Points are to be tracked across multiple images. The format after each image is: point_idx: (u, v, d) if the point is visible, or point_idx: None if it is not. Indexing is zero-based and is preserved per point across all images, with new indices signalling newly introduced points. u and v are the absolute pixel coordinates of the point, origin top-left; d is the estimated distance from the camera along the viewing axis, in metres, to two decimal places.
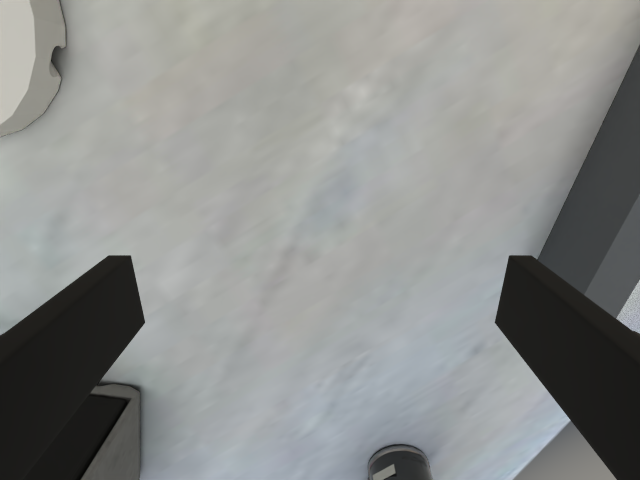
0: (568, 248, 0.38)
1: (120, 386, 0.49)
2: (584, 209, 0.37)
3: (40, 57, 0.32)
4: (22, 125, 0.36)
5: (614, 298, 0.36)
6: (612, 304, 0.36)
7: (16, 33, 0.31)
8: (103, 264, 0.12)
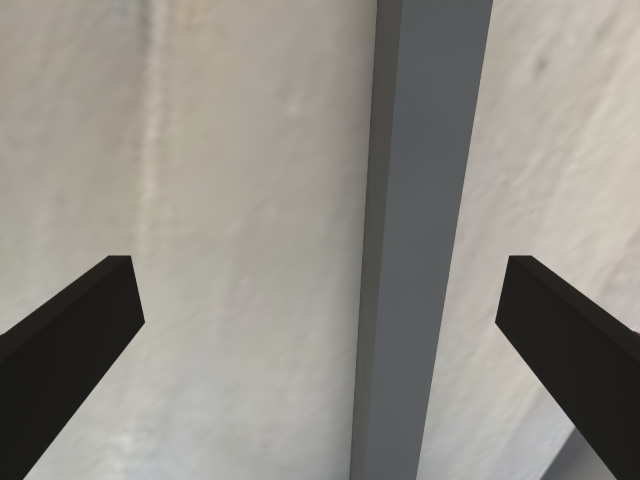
0: None
1: None
2: None
3: None
4: None
5: None
6: None
7: None
8: (103, 264, 0.12)
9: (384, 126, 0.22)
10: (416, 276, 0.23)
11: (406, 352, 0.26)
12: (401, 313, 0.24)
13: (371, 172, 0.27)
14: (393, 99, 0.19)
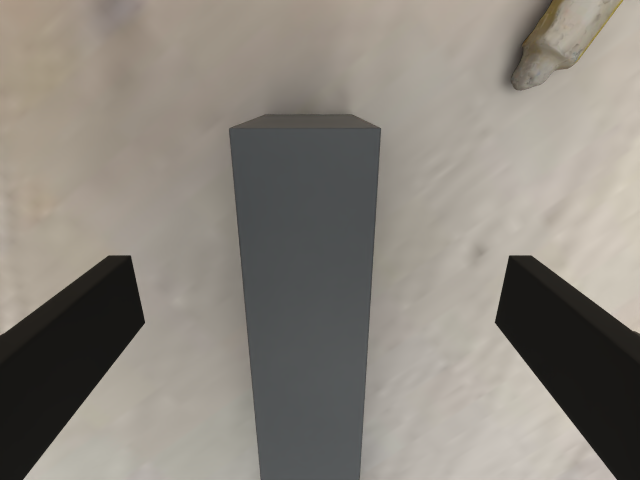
0: None
1: None
2: None
3: None
4: None
5: None
6: None
7: None
8: (103, 264, 0.12)
9: None
10: None
11: None
12: None
13: None
14: (253, 388, 0.14)
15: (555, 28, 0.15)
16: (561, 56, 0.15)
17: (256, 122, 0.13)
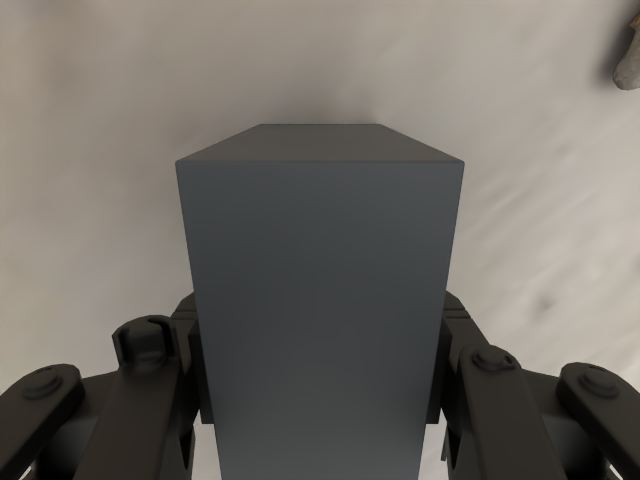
0: None
1: None
2: None
3: None
4: None
5: None
6: None
7: None
8: None
9: None
10: None
11: None
12: None
13: None
14: None
15: None
16: None
17: (237, 142, 0.08)
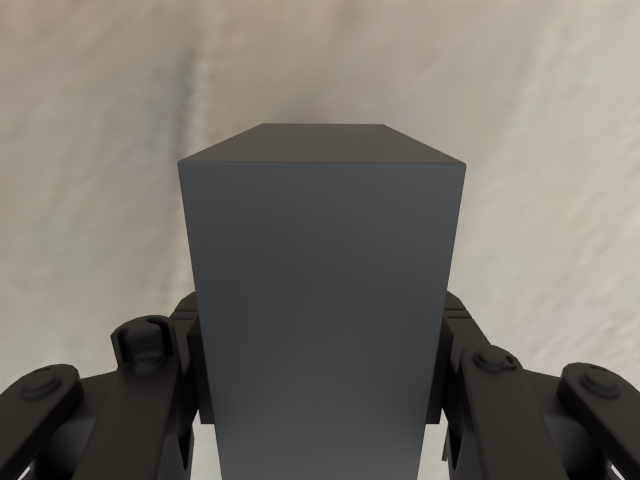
0: None
1: None
2: None
3: None
4: None
5: None
6: None
7: None
8: None
9: None
10: None
11: None
12: None
13: None
14: None
15: None
16: None
17: (239, 142, 0.08)
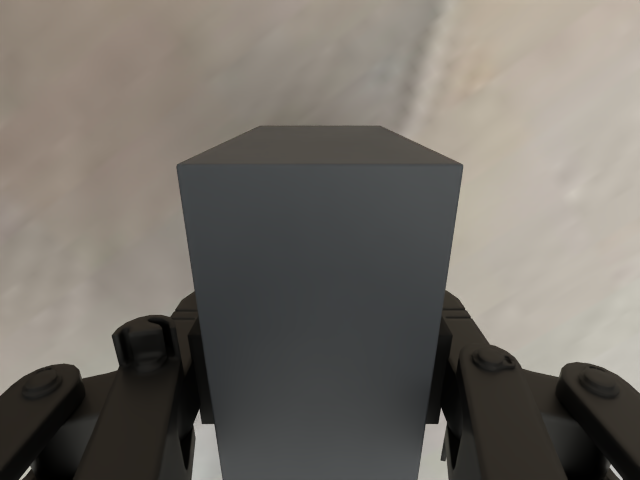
0: None
1: None
2: None
3: None
4: None
5: None
6: None
7: None
8: None
9: None
10: None
11: None
12: None
13: None
14: None
15: None
16: None
17: (237, 145, 0.08)
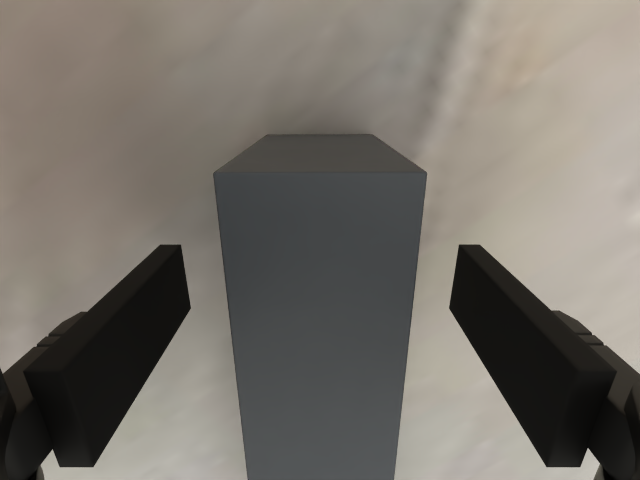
0: None
1: None
2: None
3: None
4: None
5: None
6: None
7: None
8: (158, 252, 0.12)
9: None
10: None
11: None
12: None
13: None
14: None
15: None
16: None
17: (254, 155, 0.10)
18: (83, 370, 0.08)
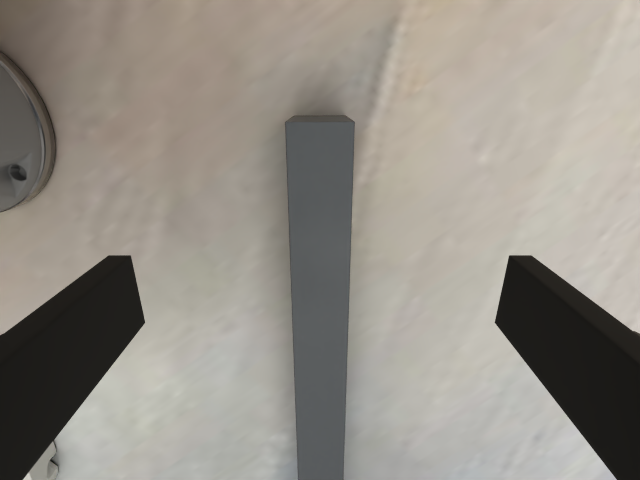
0: None
1: None
2: None
3: None
4: None
5: None
6: None
7: None
8: (103, 264, 0.12)
9: None
10: (322, 375, 0.31)
11: (321, 427, 0.33)
12: (314, 400, 0.32)
13: None
14: (290, 261, 0.27)
15: None
16: None
17: (294, 119, 0.25)
18: None
